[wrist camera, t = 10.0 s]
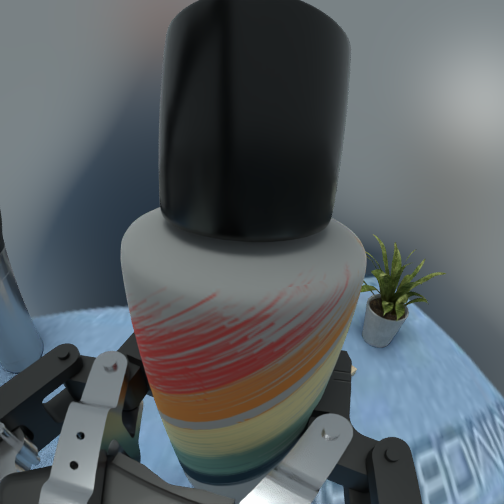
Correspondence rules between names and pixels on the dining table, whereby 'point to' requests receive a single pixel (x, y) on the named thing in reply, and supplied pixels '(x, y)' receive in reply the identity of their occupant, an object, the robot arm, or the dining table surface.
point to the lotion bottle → (244, 236)
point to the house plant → (389, 300)
